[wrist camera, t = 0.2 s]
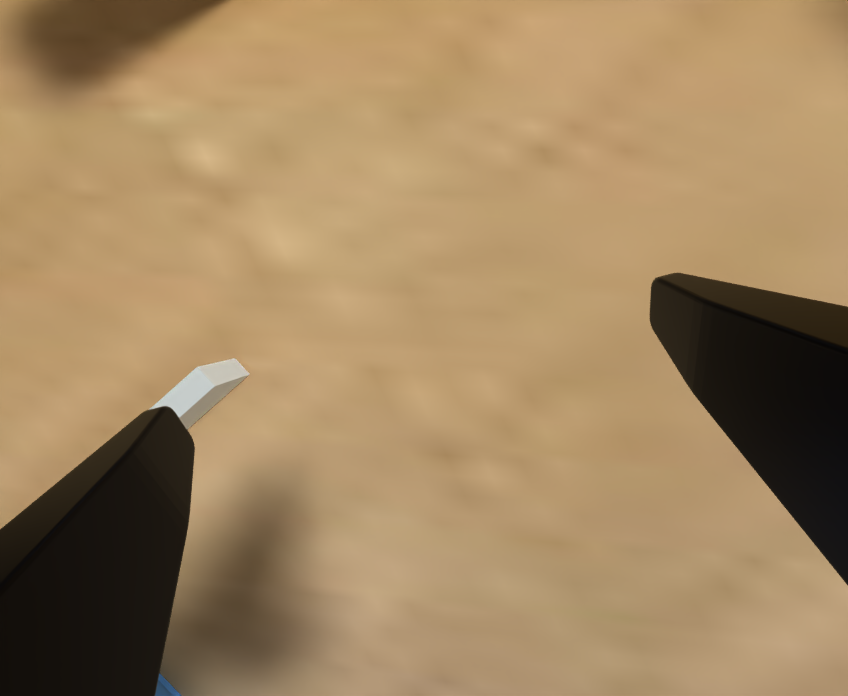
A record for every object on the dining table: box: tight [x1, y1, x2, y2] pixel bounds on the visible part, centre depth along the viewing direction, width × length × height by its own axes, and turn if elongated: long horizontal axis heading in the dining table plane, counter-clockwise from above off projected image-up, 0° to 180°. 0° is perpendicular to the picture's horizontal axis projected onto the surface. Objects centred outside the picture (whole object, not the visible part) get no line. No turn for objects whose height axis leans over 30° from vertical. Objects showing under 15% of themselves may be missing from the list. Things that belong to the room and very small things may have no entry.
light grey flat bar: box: [149, 358, 249, 429], centre depth 21 cm, size 23×1×4 cm, turn 131°
